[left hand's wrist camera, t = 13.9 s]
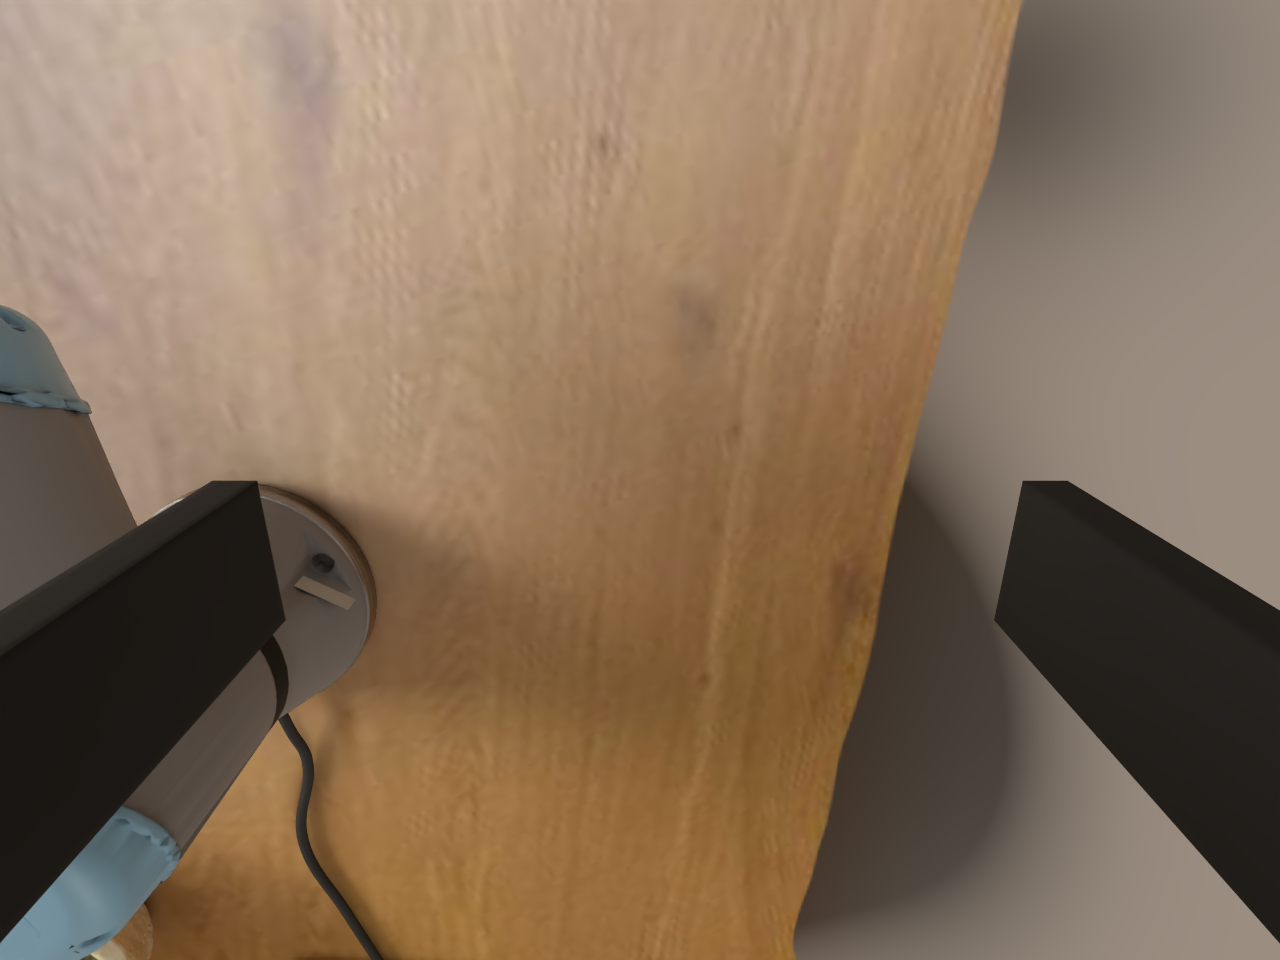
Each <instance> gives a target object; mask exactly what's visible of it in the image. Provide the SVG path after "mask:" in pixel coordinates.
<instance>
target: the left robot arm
mask: <svg viewBox="0 0 1280 960" xmlns="http://www.w3.org/2000/svg"><path fill="white" fill-rule="evenodd" d="M91 413H92V412H91V409H90V406H89V404H88V403H87V402H86V401H84V400H82V399H80V397H79V395H78V393H77V392H76V390H75V388H74V386H73V384H72V382H71V381H70V379H69V377H68V375H67V373H66V371H65V369H64V368H63V366H62V364H61V362H60V360H59V358H58V356H57V354H56V352H55V350H54V348H53V346H52V344H51V342H50V340H49V339H48V337H47V336H46V334H45V333H44V332H43V330H42V329H41V328H40V327H39V326H38V325H37V324H36V323H35V322H33V321H32V320H31V319H29V318H28V317H26V316H25V315H23V314H21V313H19V312H18V311H15V310H13V309H11V308H8V307H5V306H2V305H0V960H80V959H82V958H84V957H86V956H88V955H90V954H91V953H93V952H95V951H96V950H97V949H99V948H100V947H102V946H103V945H105V944H106V943H107V942H108V941H110V940H111V939H112V938H113V937H114V936H115V935H116V934H117V933H119V932H120V930H121V929H122V928H123V927H124V926H125V925H126V924H127V923H128V921H129V920H130V919H131V918H132V916H133V915H134V914H135V913H136V911H137V910H138V909H139V908H140V907H141V905H142V904H143V903H144V902H145V900H146V899H147V898H148V897H149V896H150V894H151V893H152V892H153V891H154V889H155V888H156V887H157V886H158V884H160V883H162V882H163V881H164V880H166V879H167V878H168V877H169V876H170V875H171V874H172V872H173V871H174V870H175V868H176V866H178V862H179V860H180V859H181V858H182V856H183V855H184V853H185V852H186V850H187V849H188V847H189V846H190V845H191V843H192V842H193V840H194V839H195V837H196V836H197V834H198V833H199V832H200V830H201V829H202V827H203V826H204V824H205V823H206V821H207V820H208V819H209V817H210V816H211V814H212V813H213V811H214V810H215V808H216V807H217V806H218V804H219V803H220V801H221V800H222V798H223V797H224V796H225V794H226V793H227V791H228V790H229V788H230V787H231V785H232V784H233V783H234V781H235V780H236V778H237V777H238V775H239V774H240V772H241V771H242V770H243V768H244V767H245V765H246V764H247V762H248V761H249V759H250V758H251V757H252V755H253V754H254V752H255V751H256V749H257V748H258V746H259V745H260V744H261V742H262V741H263V739H264V738H265V736H266V735H267V733H268V732H269V731H270V729H271V728H272V727H273V725H274V724H275V722H276V721H277V720H279V722H280V724H281V726H282V728H283V730H284V731H285V733H286V735H287V736H288V738H289V740H290V741H291V742H292V744H293V745H294V746H295V748H296V749H297V751H298V752H299V754H300V757H301V760H302V766H303V783H302V789H301V794H300V799H299V804H298V809H297V816H296V834H297V839H298V844H299V847H300V850H301V853H302V855H303V858H304V860H305V862H306V864H307V866H308V867H309V869H310V871H311V872H312V874H313V875H314V877H315V878H316V880H317V881H318V883H319V884H320V885H321V887H322V888H323V889H324V891H325V892H326V893H327V894H328V896H329V897H330V898H331V900H332V901H333V902H334V904H335V905H336V907H337V908H338V909H339V911H340V912H341V914H342V915H343V917H344V919H345V920H346V922H347V923H348V925H349V926H350V928H351V929H352V931H353V932H354V934H355V935H356V937H357V939H358V940H359V941H360V943H361V944H362V946H363V947H364V949H365V950H366V952H367V953H368V955H369V957H370V958H371V960H383V958H382V957H381V955H380V954H379V952H378V950H377V949H376V947H375V946H374V944H373V943H372V941H371V940H370V938H369V937H368V935H367V934H366V932H365V931H364V929H363V928H362V926H361V925H360V923H359V921H358V920H357V918H356V917H355V915H354V914H353V912H352V910H351V909H350V907H349V906H348V904H347V903H346V901H345V900H344V898H343V897H342V896H341V894H340V893H339V892H338V890H337V889H336V888H335V886H334V885H333V884H332V882H331V881H330V880H329V878H328V877H327V876H326V874H325V873H324V871H323V870H322V868H321V867H320V865H319V863H318V862H317V860H316V858H315V856H314V854H313V851H312V849H311V846H310V843H309V840H308V835H307V827H306V818H307V810H308V804H309V800H310V795H311V790H312V785H313V777H314V765H313V759H312V755H311V752H310V749H309V747H308V746H307V744H306V743H305V741H304V740H303V738H302V737H301V735H300V734H299V733H298V731H297V729H296V728H295V726H294V724H293V722H292V720H291V718H290V716H289V714H288V712H290V711H291V710H293V709H294V708H296V707H297V706H299V705H300V704H302V703H303V702H305V701H306V700H308V699H309V698H311V697H312V696H313V695H315V694H317V693H319V692H321V691H322V690H324V689H326V688H327V687H329V686H330V685H331V684H333V683H334V682H335V681H336V680H337V679H338V678H340V677H341V676H342V675H343V674H344V673H345V672H346V671H347V670H348V669H349V668H350V667H351V665H352V664H353V663H354V661H355V660H356V658H357V657H358V655H359V654H360V652H361V651H362V649H363V647H364V646H365V644H366V643H367V641H368V639H369V637H370V635H371V632H372V629H373V626H374V622H375V617H376V591H375V586H374V581H373V577H372V575H371V572H370V569H369V566H368V564H367V562H366V560H365V558H364V556H363V554H362V553H361V551H360V549H359V548H358V546H357V545H356V544H355V542H354V541H353V539H352V538H351V537H350V536H349V535H348V534H347V532H346V531H345V530H344V529H343V528H342V527H341V526H340V525H339V524H338V523H337V522H336V521H335V520H333V519H332V518H331V517H330V516H328V515H327V514H326V513H325V512H323V511H322V510H320V509H319V508H317V507H316V506H314V505H313V504H311V503H309V502H307V501H306V500H304V499H302V498H299V497H297V496H295V495H293V494H290V493H288V492H285V491H282V490H279V489H276V488H272V487H268V486H263V485H258V483H257V481H211V482H210V483H208V484H207V485H205V486H203V487H202V488H200V489H197V490H195V491H192V492H190V493H188V494H186V495H184V496H182V497H180V498H178V499H177V500H175V501H174V502H172V503H170V504H169V505H167V506H165V507H164V508H162V509H161V510H159V511H158V512H157V513H155V514H154V515H153V516H152V517H151V518H150V519H149V520H148V521H146V522H144V523H143V524H141V525H139V526H138V527H137V525H136V522H135V520H134V518H133V516H132V514H131V511H130V509H129V507H128V505H127V503H126V500H125V498H124V496H123V494H122V492H121V489H120V487H119V485H118V483H117V481H116V478H115V476H114V474H113V471H112V469H111V466H110V464H109V462H108V459H107V457H106V455H105V452H104V450H103V448H102V445H101V443H100V441H99V438H98V436H97V434H96V431H95V429H94V427H93V424H92V422H91V420H90V417H89V415H88V414H91ZM994 621H995V622H996V623H997V624H998V625H999V626H1000V627H1001V628H1002V630H1003V631H1004V632H1005V633H1006V634H1007V635H1008V636H1009V637H1010V639H1011V640H1012V641H1013V642H1014V643H1015V644H1016V645H1017V647H1018V648H1019V649H1020V650H1021V651H1022V652H1023V653H1024V654H1025V656H1026V657H1027V658H1028V659H1029V660H1030V661H1031V662H1032V663H1033V665H1034V666H1035V667H1036V668H1037V669H1038V670H1039V671H1040V673H1041V674H1042V675H1043V676H1044V677H1045V678H1046V679H1047V680H1048V682H1049V683H1050V684H1051V685H1052V686H1053V687H1054V688H1055V689H1056V691H1057V692H1058V693H1059V694H1060V695H1061V696H1062V697H1063V699H1064V700H1065V701H1066V702H1067V703H1068V704H1069V705H1070V706H1071V708H1072V709H1073V710H1074V711H1075V712H1076V713H1077V714H1078V715H1079V717H1080V718H1081V719H1082V720H1083V721H1084V722H1085V723H1086V725H1087V726H1088V727H1089V728H1090V729H1091V730H1092V731H1093V732H1094V734H1095V735H1096V736H1097V737H1098V738H1099V739H1100V740H1101V741H1102V743H1103V744H1104V745H1105V746H1106V747H1107V748H1108V749H1109V751H1110V752H1111V753H1112V754H1113V755H1114V756H1115V757H1116V758H1117V760H1118V761H1119V762H1120V763H1121V764H1122V765H1123V766H1124V768H1125V769H1126V770H1127V771H1128V772H1129V773H1130V774H1131V775H1132V777H1133V778H1134V779H1135V780H1136V781H1137V782H1138V783H1139V784H1140V786H1141V787H1142V788H1143V789H1144V790H1145V791H1146V792H1147V794H1148V795H1149V796H1150V797H1151V798H1152V799H1153V800H1154V801H1155V803H1156V804H1157V805H1158V806H1159V807H1160V808H1161V809H1162V811H1163V812H1164V813H1165V814H1166V815H1167V816H1168V817H1169V818H1170V820H1171V821H1172V822H1173V823H1174V824H1175V825H1176V826H1177V828H1178V829H1179V830H1180V831H1181V832H1182V833H1183V834H1184V835H1185V837H1186V838H1187V839H1188V840H1189V841H1190V842H1191V843H1192V844H1193V846H1194V847H1195V848H1196V849H1197V850H1198V851H1199V852H1200V854H1201V855H1202V856H1203V857H1204V858H1205V859H1206V860H1207V861H1208V863H1209V864H1210V865H1211V866H1212V867H1213V868H1214V869H1215V870H1216V872H1217V873H1218V874H1219V875H1220V876H1221V877H1222V878H1223V880H1224V881H1225V882H1226V883H1227V884H1228V885H1229V886H1230V887H1231V889H1232V890H1233V891H1234V892H1235V893H1236V894H1237V895H1238V896H1239V898H1240V899H1241V900H1242V901H1243V902H1244V903H1245V904H1246V906H1247V907H1248V908H1249V909H1250V910H1251V911H1252V912H1253V913H1254V915H1255V916H1256V917H1257V918H1258V919H1259V920H1260V921H1261V923H1262V924H1263V925H1264V926H1265V927H1266V928H1267V929H1268V930H1269V932H1270V933H1271V934H1272V935H1273V936H1274V937H1275V938H1276V939H1277V941H1278V942H1279V943H1280V610H1278V609H1276V608H1275V607H1273V606H1271V605H1270V604H1268V603H1266V602H1265V601H1263V600H1262V599H1260V598H1258V597H1257V596H1255V595H1253V594H1252V593H1250V592H1248V591H1247V590H1245V589H1244V588H1242V587H1240V586H1239V585H1237V584H1235V583H1234V582H1232V581H1230V580H1229V579H1227V578H1226V577H1224V576H1222V575H1221V574H1219V573H1217V572H1216V571H1214V570H1212V569H1211V568H1209V567H1208V566H1206V565H1204V564H1203V563H1201V562H1199V561H1198V560H1196V559H1195V558H1193V557H1191V556H1190V555H1188V554H1186V553H1185V552H1183V551H1181V550H1180V549H1178V548H1176V547H1175V546H1173V545H1172V544H1170V543H1168V542H1167V541H1165V540H1163V539H1162V538H1160V537H1158V536H1157V535H1155V534H1154V533H1152V532H1150V531H1149V530H1147V529H1145V528H1144V527H1142V526H1141V525H1139V524H1137V523H1136V522H1134V521H1132V520H1131V519H1129V518H1127V517H1126V516H1124V515H1122V514H1121V513H1119V512H1118V511H1116V510H1114V509H1113V508H1111V507H1109V506H1108V505H1106V504H1104V503H1103V502H1101V501H1100V500H1098V499H1096V498H1095V497H1093V496H1091V495H1090V494H1088V493H1087V492H1085V491H1083V490H1082V489H1080V488H1078V487H1077V486H1075V485H1073V484H1072V483H1070V482H1068V481H1023V483H1022V487H1021V493H1020V497H1019V502H1018V507H1017V512H1016V517H1015V522H1014V526H1013V531H1012V536H1011V541H1010V546H1009V551H1008V556H1007V561H1006V565H1005V570H1004V575H1003V580H1002V585H1001V590H1000V595H999V599H998V605H997V609H996V614H995V619H994Z"/></svg>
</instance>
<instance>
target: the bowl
mask: <svg viewBox="0 0 1280 960" xmlns="http://www.w3.org/2000/svg"><path fill="white" fill-rule="evenodd" d="M152 933H153V926H152V921H151V918H150V916H149V912H148V910H147V908H146V906H145V904H144V903H143V904H142V905H141V907H140V908H139V909H138V910H137V911H136V913H135V914H134V915H133V916H132V918H131V919H130V920H129V921H128V923H127V924H126V925H125V926H124V927H123V928H122V929H121V930H120V932H119V933H117V934H116V935H115V936H114V937H113V938H112V939H111V940H110V941H108V942H107V943H106V944H105V945H103V946H102V947H100V948H99V949H97V950H96V951H95V952H93V953H91V954H90V955H88V956H86V957H84V958H82V959H80V960H149V958H150V955H151V950H152V947H153V940H154V939H153V934H152Z"/></svg>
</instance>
